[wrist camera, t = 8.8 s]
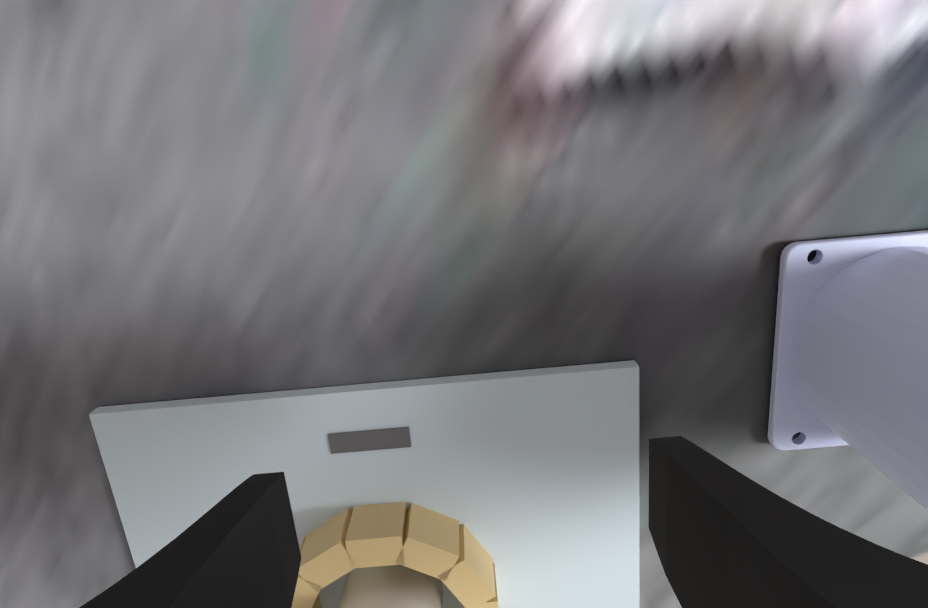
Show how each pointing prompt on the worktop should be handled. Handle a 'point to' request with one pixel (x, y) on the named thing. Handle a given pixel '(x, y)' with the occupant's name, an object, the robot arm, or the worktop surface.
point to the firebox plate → (410, 479)
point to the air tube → (391, 588)
